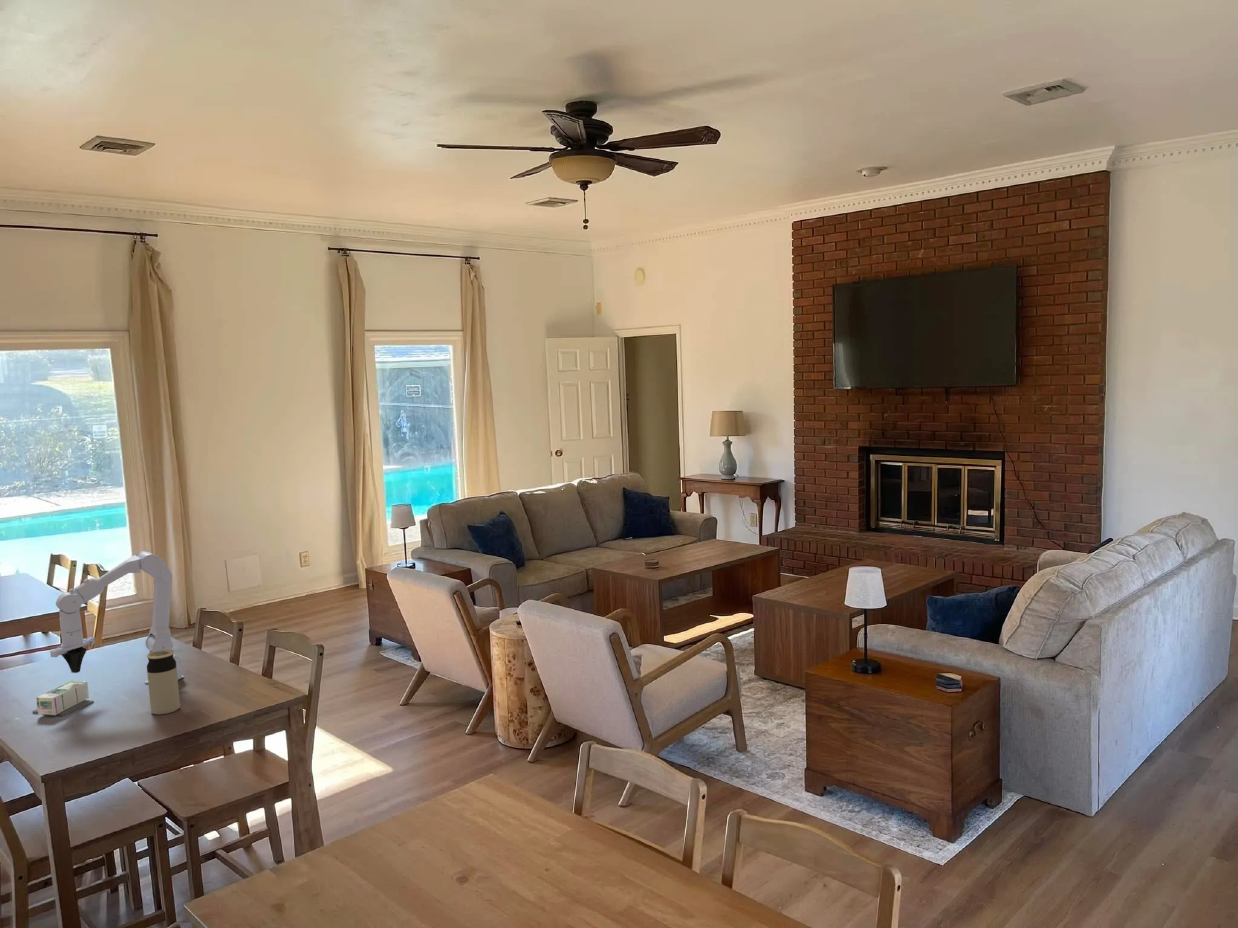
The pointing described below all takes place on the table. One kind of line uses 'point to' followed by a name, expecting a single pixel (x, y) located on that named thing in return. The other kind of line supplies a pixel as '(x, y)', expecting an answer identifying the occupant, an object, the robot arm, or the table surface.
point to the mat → (73, 708)
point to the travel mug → (163, 682)
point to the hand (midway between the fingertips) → (75, 671)
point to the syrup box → (62, 698)
